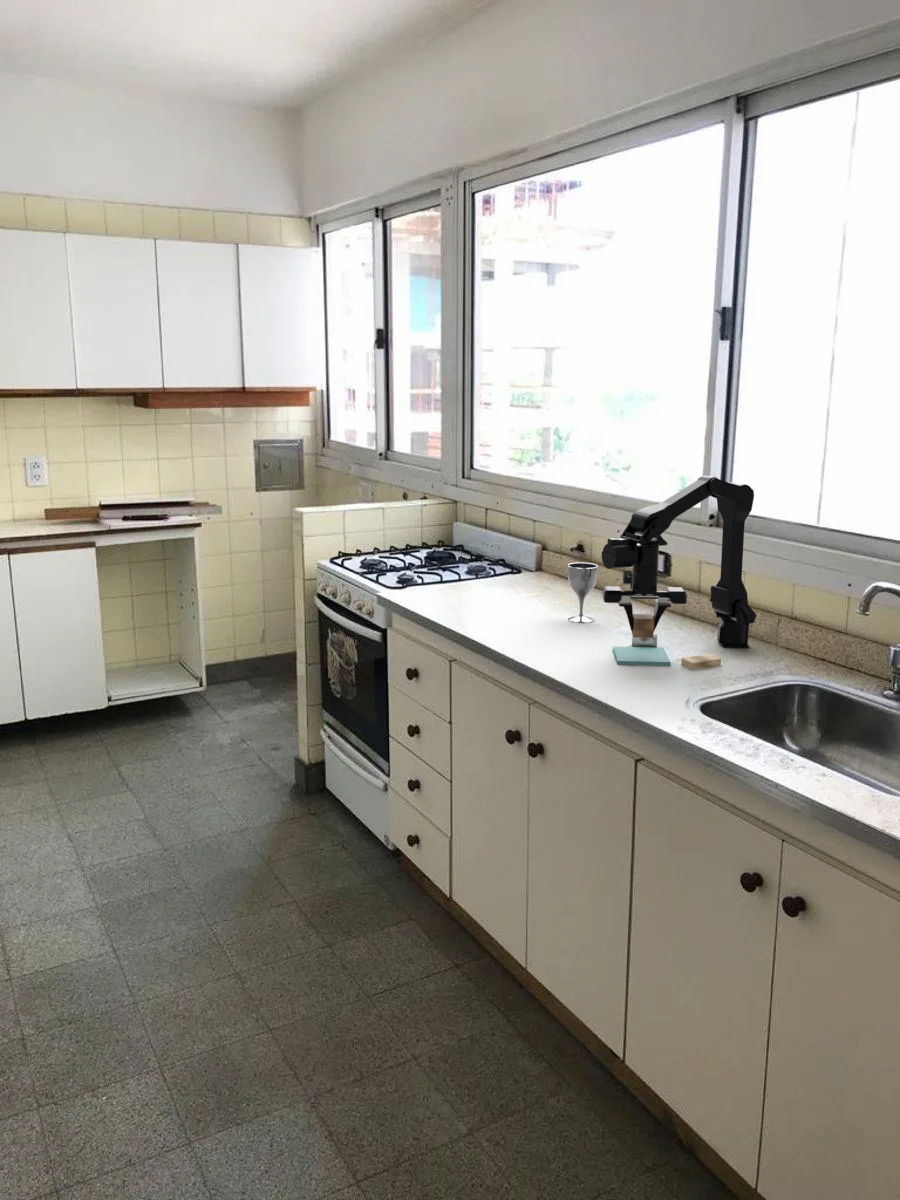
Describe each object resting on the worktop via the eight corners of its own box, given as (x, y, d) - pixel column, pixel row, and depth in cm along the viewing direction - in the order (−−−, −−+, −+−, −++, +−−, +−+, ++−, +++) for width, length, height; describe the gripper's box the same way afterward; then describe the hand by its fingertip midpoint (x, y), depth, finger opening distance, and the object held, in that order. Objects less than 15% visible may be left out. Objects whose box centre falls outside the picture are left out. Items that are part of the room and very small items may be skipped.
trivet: (663, 650, 235) (663, 647, 234) (670, 665, 223) (670, 662, 223) (612, 649, 235) (612, 646, 235) (617, 664, 224) (617, 660, 224)
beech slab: (709, 662, 227) (710, 654, 226) (720, 667, 223) (721, 658, 223) (680, 666, 224) (681, 657, 223) (691, 671, 220) (692, 662, 220)
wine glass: (572, 624, 259) (574, 568, 256) (561, 617, 267) (563, 563, 263) (600, 622, 261) (602, 567, 258) (588, 615, 269) (590, 561, 265)
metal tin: (655, 643, 242) (655, 631, 241) (658, 650, 236) (659, 638, 235) (630, 643, 242) (631, 631, 241) (633, 649, 236) (633, 637, 235)
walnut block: (650, 632, 230) (651, 614, 229) (653, 637, 226) (654, 619, 225) (631, 632, 230) (632, 613, 229) (633, 637, 226) (634, 618, 225)
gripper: (681, 559, 231) (677, 623, 235) (601, 558, 233) (599, 621, 236) (688, 568, 220) (685, 635, 224) (605, 567, 222) (603, 633, 225)
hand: (642, 630), depth 228 cm, fingers closed on walnut block, 4 cm apart
